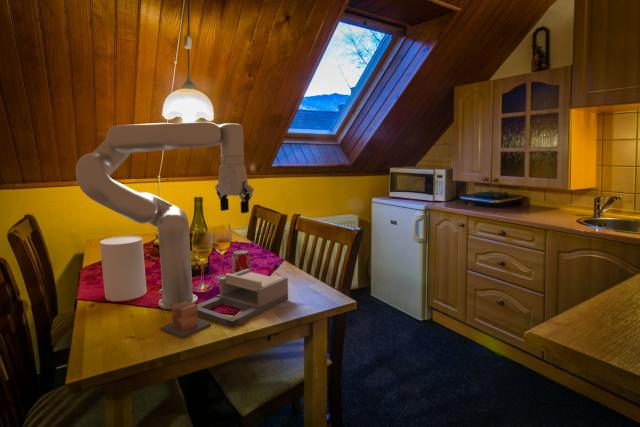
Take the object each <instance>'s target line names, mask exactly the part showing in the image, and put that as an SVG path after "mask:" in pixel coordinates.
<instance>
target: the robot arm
mask: <svg viewBox="0 0 640 427" xmlns="http://www.w3.org/2000/svg"><path fill="white" fill-rule="evenodd" d="M105 136H106V137H105V139H104V140H103V141H102V142H101V143H100V145H98V146H97V148H96V149H95V150H93V151H92V152H89V153H86V154H83V155H82V156H81V157H80V158H79V159H78V160H77V163H76V165H75V178H76V182H77V184H78V187H79V188H80V190H81V191H82V193H83V194H85V195H86V196H87V197H88V198H89V199H91V200H92V201H94V202H95V203H98V204H99V205H101V206H104V207H106V208H107V209H109V210H111V211H112V212H115V213H117V214H119V215H120V216H123V217H125V218H127V219H129V220H130V221H132V222H134V223H137V224H142V225H143V224H149V225H152V226H154V227H156V228H157V238H158V246H159V260H160V272H161V289H159V290H158V294H160V295H161V298H160V299H159V300H158V302H157V303H158V307H159V308H161V309H163V310H171V311H172V306H174V305H177V304H180V303H182V302H185V301H187V302H190V303H193V304H196V305H197V304H198V301H199V299H198V296H197V295H196V294H193V278H192V273H193V272H192V260H191V244H190V243H191V242H190V239H191V238H190V224H189V218H188V215H187V214H186V212H185V211H184V210H183V209H182V208H180V207H178V206H176V205H174V204H172V203H171V202H168V201H167V200H165V199H164V198H161V197H159V196H157V195H155V194H153V193H150V192H147V191H139V192H138V191H136V190H134V189H132V188H130V187H128V186H126V185H124V184H122V183H120V182H118V181H116V180H115V179H112V178H111V177H110V176H111V175H112V174H113V173H114V172H115V171H116V170H117V169H118V168H119V167H120V166H121V165H122V163H124V161H125V160H126V159H128V157H129V156H130V155H132V153H144V152H158V151H159V152H160V151H161V152H162V151H171V150H176V149H184V148H185V149H186V148H187V149H188V148H201V147H204V148H205V147H214V146H218V145H220V164H221V165H219V169H218V176H217V177H218V178H217V180H218V182H217V184H216V185H215V186H214V188H215V191H216V195H217V196H218V199H219V200H220V201H219V202H220V212H223V211H229V210H230V208H229V206H230V205H229V198H228V197H229V196H234V197H236V196H239V199H240V200H241V201H240V213H241V214H247V213H249V211H250V204H249V202H250V200H251V198H252V197H253V194H254V188H253V187H252V186H251V185H249V183H248V172H247V168H246V165H245V154H244V153H245V152H244V146H245V145H244V129H243V125H241V124H240V123H222V124H216V123H215V122H212V121H197V122H181V123H180V122H178V123H177V122H176V123H175V122H173V123H170V122H169V123H168V122H157V123H139V124H137V123H136V124H133V123H132V124H119V125H114V126H112V127H110V128H109V130H107V133H106V135H105Z"/></svg>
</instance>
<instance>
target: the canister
mask: <svg viewBox="0 0 640 427" xmlns="http://www.w3.org/2000/svg"><path fill="white" fill-rule="evenodd" d="M99 247H100V259H101V268H102V277H103V278H102V279H103V288H104V290H103V291H104V298H105V300H107V301H111V302H124V301H131V300H135V299H138V298H141V297H143V296H144V295H145V294H146V293H147V292H148V291H147V280H146V268H145V267H146V266H145V255H144V254H145V253H144V241H143V237H142V236H140V235H139V236H138V235H120V236H112V237H108V238H105V239H102V240H100V241H99Z"/></svg>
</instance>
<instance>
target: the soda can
mask: <svg viewBox="0 0 640 427" xmlns="http://www.w3.org/2000/svg"><path fill="white" fill-rule="evenodd" d="M251 267H252V266H251V255H250V254H249V251H248V250H246V249H239V250H238V249H236V250H234V251H233V252H232V256H231V272H232V273H231V274H234V273H237V272H239V271H242V270H245V269H250V272H252V270H251V269H252V268H251Z"/></svg>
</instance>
